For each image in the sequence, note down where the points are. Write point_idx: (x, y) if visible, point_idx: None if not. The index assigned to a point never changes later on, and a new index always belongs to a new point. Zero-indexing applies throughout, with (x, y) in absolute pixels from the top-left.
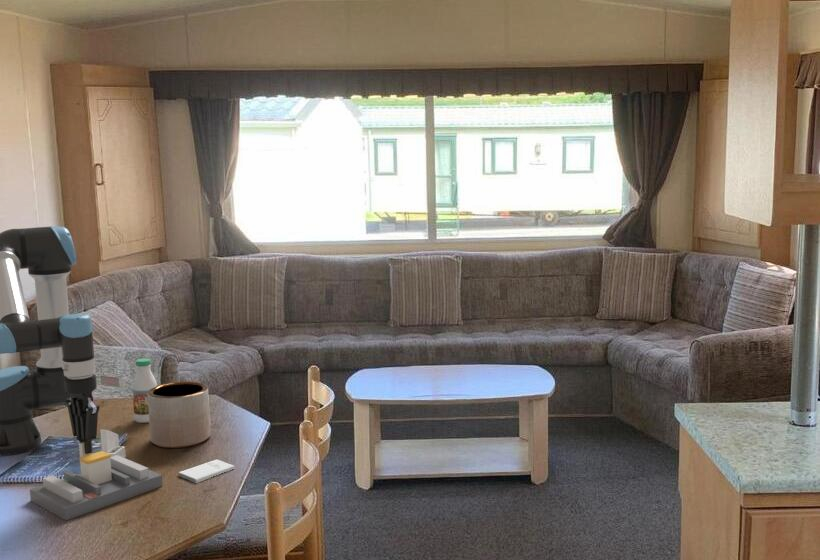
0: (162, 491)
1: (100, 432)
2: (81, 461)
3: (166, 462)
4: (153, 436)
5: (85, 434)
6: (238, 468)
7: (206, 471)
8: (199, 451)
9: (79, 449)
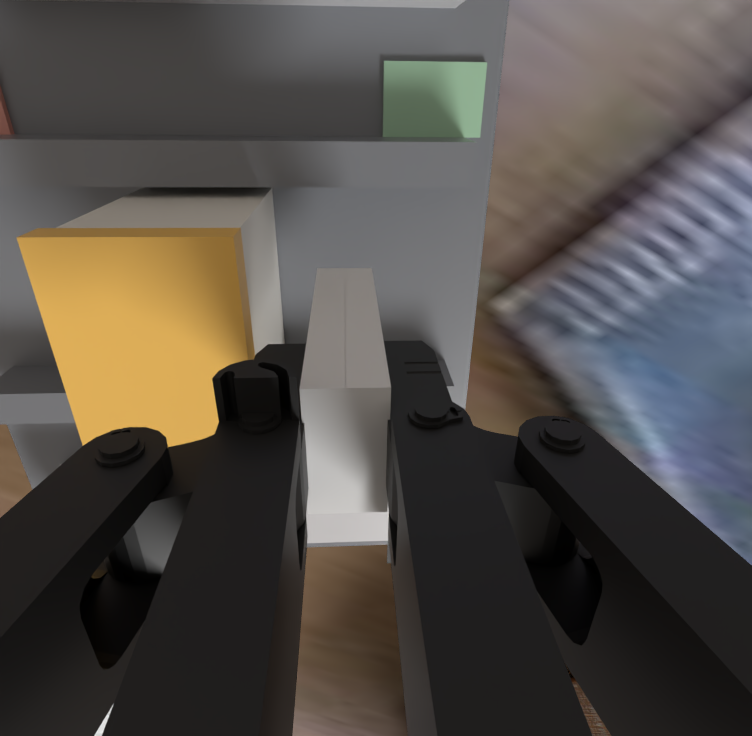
0: (15, 479)
1: None
2: (189, 228)
3: (361, 627)
4: (587, 716)
5: (108, 512)
6: None
7: None
8: (361, 726)
9: (377, 333)
